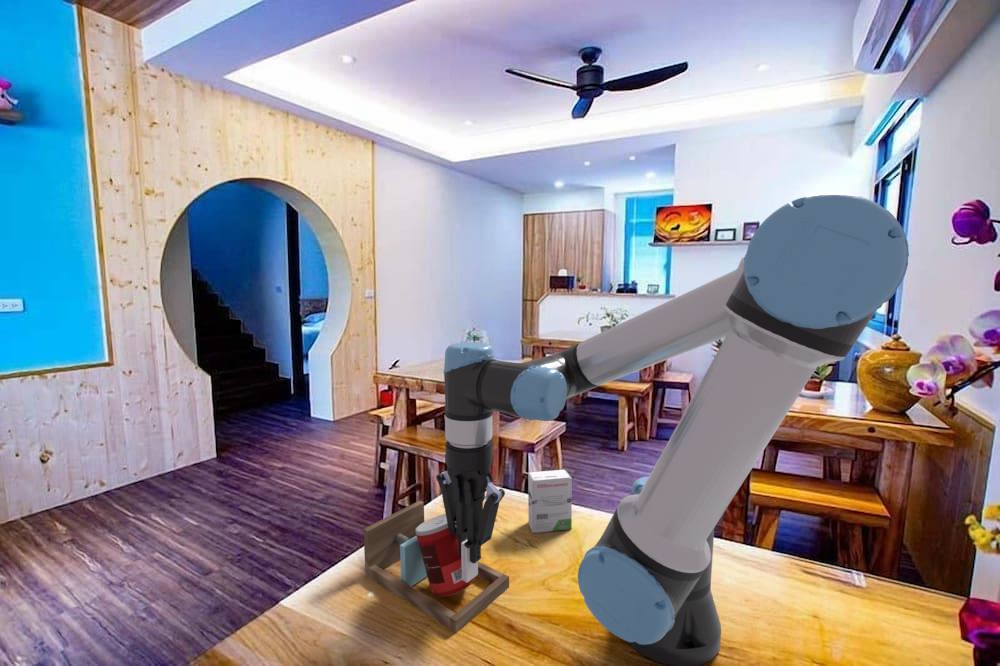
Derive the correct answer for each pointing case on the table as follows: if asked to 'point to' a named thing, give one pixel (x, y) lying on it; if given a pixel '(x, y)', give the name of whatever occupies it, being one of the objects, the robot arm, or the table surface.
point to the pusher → (411, 562)
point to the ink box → (549, 501)
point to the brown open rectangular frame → (383, 553)
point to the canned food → (441, 557)
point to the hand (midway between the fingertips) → (469, 577)
